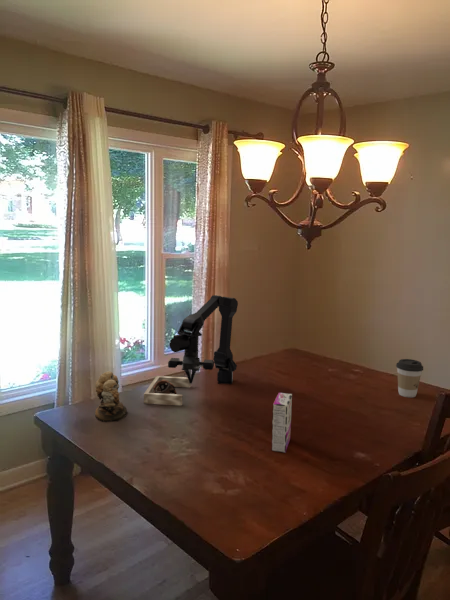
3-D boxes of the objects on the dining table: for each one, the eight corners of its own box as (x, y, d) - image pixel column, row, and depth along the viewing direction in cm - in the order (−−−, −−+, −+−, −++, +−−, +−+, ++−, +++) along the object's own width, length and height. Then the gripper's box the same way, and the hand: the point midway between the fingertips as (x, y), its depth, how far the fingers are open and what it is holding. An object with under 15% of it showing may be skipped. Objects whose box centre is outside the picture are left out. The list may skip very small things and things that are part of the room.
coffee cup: (416, 401, 208) (419, 367, 205) (390, 395, 214) (392, 362, 212) (424, 394, 217) (427, 361, 214) (398, 388, 223) (401, 356, 221)
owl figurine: (128, 422, 179) (127, 378, 176) (95, 425, 176) (93, 380, 173) (125, 404, 196) (124, 363, 193) (95, 406, 193) (94, 365, 190)
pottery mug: (181, 399, 204) (175, 385, 200) (161, 411, 202) (154, 397, 198) (171, 384, 214) (165, 370, 209) (152, 395, 212) (145, 381, 207)
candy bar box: (276, 436, 170) (278, 391, 168) (290, 438, 169) (292, 393, 166) (270, 451, 160) (272, 403, 157) (285, 453, 158) (288, 405, 156)
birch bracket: (190, 386, 219) (190, 377, 218) (181, 405, 196) (181, 395, 196) (156, 384, 220) (156, 375, 220) (143, 403, 198) (143, 393, 197)
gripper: (165, 351, 197) (165, 388, 199) (211, 353, 195) (210, 391, 198) (170, 344, 208) (170, 379, 210) (214, 346, 206) (213, 382, 209)
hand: (190, 383), depth 207 cm, fingers closed
